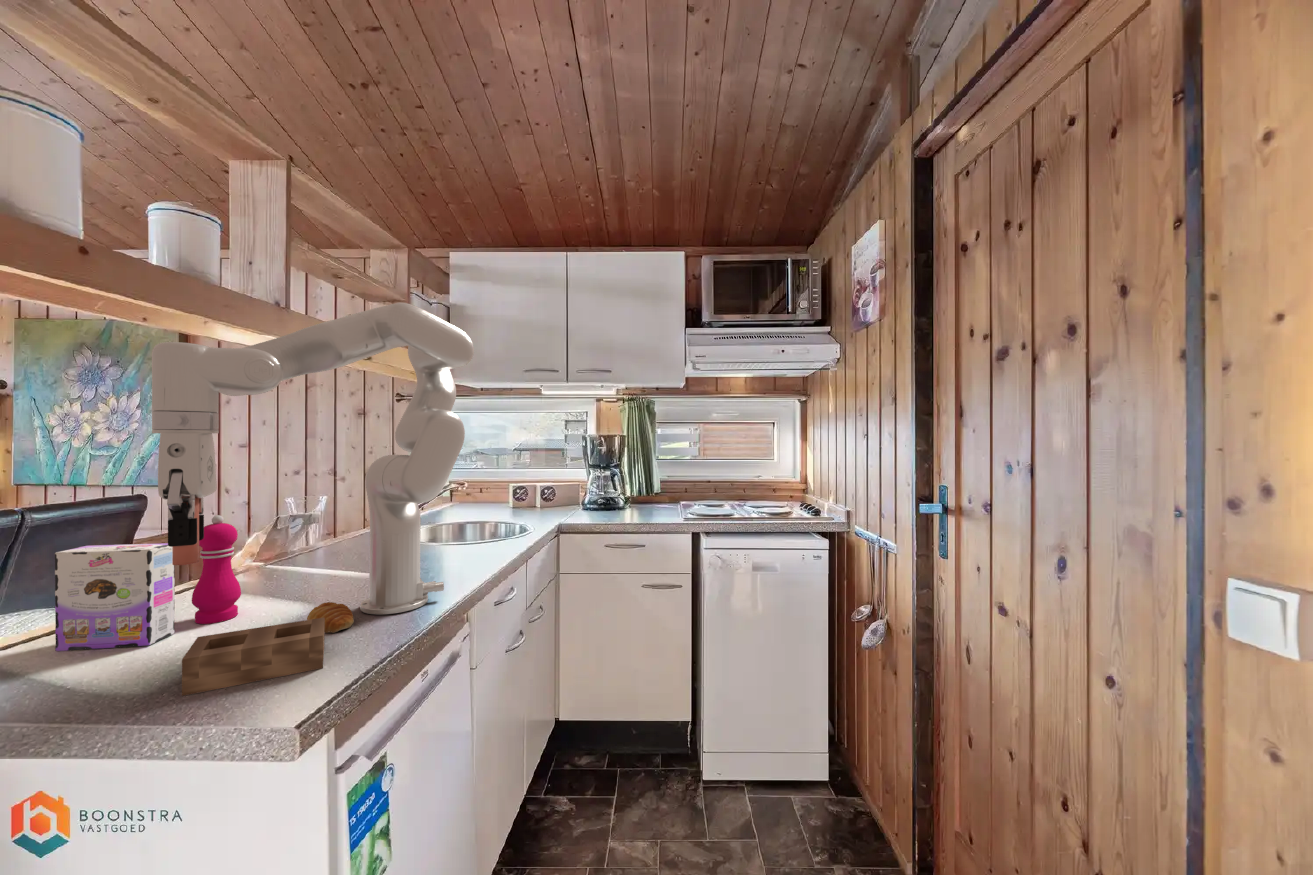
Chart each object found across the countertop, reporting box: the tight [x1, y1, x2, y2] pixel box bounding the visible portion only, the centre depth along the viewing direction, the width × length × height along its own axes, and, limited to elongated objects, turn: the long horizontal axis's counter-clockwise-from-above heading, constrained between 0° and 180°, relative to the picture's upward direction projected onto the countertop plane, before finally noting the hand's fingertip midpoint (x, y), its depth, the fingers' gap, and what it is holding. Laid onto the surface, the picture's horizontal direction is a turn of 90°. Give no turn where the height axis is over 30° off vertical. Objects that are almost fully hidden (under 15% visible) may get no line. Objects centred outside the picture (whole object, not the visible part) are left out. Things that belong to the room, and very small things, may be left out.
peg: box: [172, 497, 200, 566], centre depth 77 cm, size 3×3×10 cm
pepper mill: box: [191, 514, 242, 625], centre depth 97 cm, size 7×7×20 cm
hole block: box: [181, 617, 326, 697], centre depth 76 cm, size 16×9×5 cm, turn 122°
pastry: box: [306, 601, 355, 634], centre depth 94 cm, size 9×7×4 cm
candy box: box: [54, 542, 176, 652], centre depth 86 cm, size 14×6×16 cm, turn 99°
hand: (186, 541), depth 77 cm, fingers closed on peg, 3 cm apart
